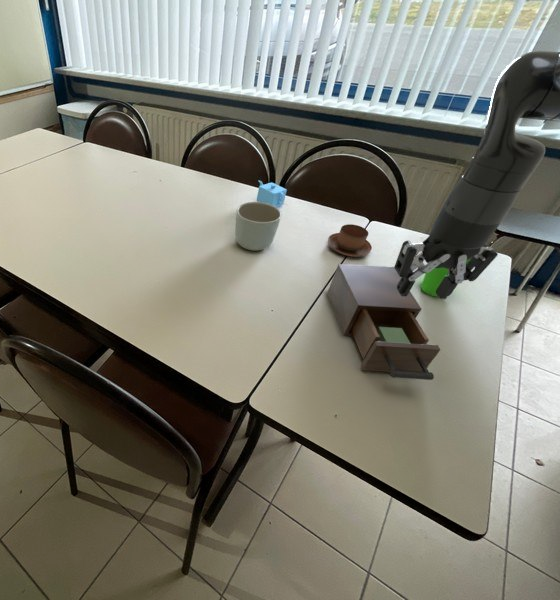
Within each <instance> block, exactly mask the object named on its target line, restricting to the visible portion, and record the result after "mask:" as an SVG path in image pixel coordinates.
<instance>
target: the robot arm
mask: <svg viewBox="0 0 560 600" xmlns="http://www.w3.org/2000/svg"><path fill="white" fill-rule="evenodd" d="M519 119H527V120H539V121H548V122H560V51H547V50H546V51H545V50H536V51H529V52H526V53H524V54H522V55H520V56H519V57H517V58H516V59H514V60H513V61H512V62H511V63H510V64H509V65H507V66H506V68H505V69H504V70H503V71H502V72H501V74H500V76H498V79H497V81H496V83H495V86H494V89H493V93H492V96H491V101H490V106H489V110H488V115H487V120H486V124H485V127H484V129H483V133H482V135H481V139H480V142H479V144H478V147H477V149H476V151H475V153H474V155H472V156H473V157H472V158H471V160H470V162H469V164H468V165H467V167H466V169H465V171H464V172H463V175H462V176H461V177H460V178H459V180H458V181H457V183H456V184H455V185H454V187H453V188H452V190H451V191H450V193H449V194H448V197H447V198H446V201H445V202H444V204H443V206H442V208H441V209H440V211H439V213H438V214H437V217H436V219H434V222H433V224H432V226H431V228H430V232H429V235H428V237H426V239H424V240H423V241H422V242H420V243H419V242H417V243H413V242H411V241H410V240H405V241H403V242H402V245H401V247H400V250H399V253H398V255H397V259H396V261H395V264H394V266H393V267H394V268H395V270H396V271H397V273H398V274H399V276H400V277H401V279H400V281H399V283H398V284H397V290H398V292H399V294H400V295H401V296H405V297H406V296H407V295H408V293H409V292H411V290H412V288H413V286H414V285H415V283H416V281H417V279H419V278H420V277H421V276H423V275H425V274H427V273H429V272H430V271H431V270H433V269H434V268H442V267H443V268H447V269H448V274H449V276H445V277H444V279H443V280H442V282H441V283H440V285H439V286H438V288H437V290H436V294H437V295H438V296H437V297H438V298H439V299H441V300H445V299H447V298H448V297H449V296H450V295H452V293H453V292H454V291H455V289H456V288H457V286H458V285H459V284H461V283H464V282H465V281H468V282H474V281H476V280H477V279H478V278H479V277H480V276H481V274H482V273H483V272H484V271H485V270H486V269H487V268H488V267H489V266H490V264H491V263H492V262H494V260H495V259H496V258H497V257H498V255H499V254H498V252H497V251H496V250H495V249H494V248H493V247H492V246H491V245H489V244H488V242H489V240H490V239H491V238H492V236H493V234H494V233H496V231H497V230H498V228H499V226H500V224H501V223H502V222H503V220H504V219H505V218H506V216H507V215H508V214H509V212H510V210H511V209H512V207H513V205H514V204H515V202H516V199H517V198H518V196H519V194H520V192H521V191H522V190H523V188H524V186H525V185H526V183H527V182H528V181H529V179H530V178H531V176H532V175H533V173H535V171H536V169H537V167H538V166H539V165H540V163H541V161H542V160H543V158H544V156H545V154H546V147H545V144H544V143H542V142H540V141H539V140H536V139H535V138H532V137H530V136H529V137H528V136H526V135H523V134H520V133H517V132H516V125H517V123H518V121H519ZM470 258H471V259H470ZM468 259H470V260H469V262H468V263H467V264H466V261H467V260H468ZM424 261H425V262H426V264H425V263H424Z"/></svg>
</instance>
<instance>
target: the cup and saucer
mask: <svg viewBox="0 0 560 600" xmlns="http://www.w3.org/2000/svg"><path fill="white" fill-rule="evenodd" d="M368 236H369V231H368V230H367V229H366V228H365V227H363V226H361V225H357V224H353V223H352V224H349V223H348V224H344V225H342V226H341V227H340V230H339V232H335V233H332V234H331V235H329V236H328V237H327V243H328V245H329V247H330V248H331V250H333V251H335V252H337V253H338V254H341V255H343V256H347V257H356V258H357V257H358V258H359V257H363V256H366V255H368V254H370V252H371V251H372V248H373V247H372V244H371V242H370V241H368V240H367V238H368Z"/></svg>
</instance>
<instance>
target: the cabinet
mask: <svg viewBox="0 0 560 600" xmlns="http://www.w3.org/2000/svg"><path fill="white" fill-rule="evenodd" d="M400 279H401V277H400V276H399V274H398V273H397V271H396V270H395V268H394V266H388V265H387V266H385V265H366V264H348V263H347V264H345V263H338V264H337V266H336V269H335V271H334V274H333V276H332V279H331V282H330V285H329V287H328V289H327V292H326V295H327V298H328V300H329V303H330V305H331V308H332V311H333V313H334V316H335V318H336V320H337V323H338V326H339V328H340V331H341V333H342V335H343V337H344V336H345V337H354V336H353V334H352V331H351V328H352V326H353V324H354V322H355V320H356V318H357V316H358V314H359V312H360V310H361V309H376V310H393V311H411V312H412V314H413V315H414V317H415V318H416V319H417V317H418V315H419V314H420V312H421V311H422V307H421V305H420V304H419V303H418V300H417V299H416V298H415V296H414V295H413V294H412V291H410V292H409V293H408V295H407V296H406V297H405V296H401V295H400V294H399V292H398V290H397V284H398V283H399V281H400Z"/></svg>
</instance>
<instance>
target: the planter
mask: <svg viewBox="0 0 560 600" xmlns="http://www.w3.org/2000/svg"><path fill="white" fill-rule="evenodd" d="M281 218H282V213H281V210H280V209H279V208H278V207H274V206H272V205H270V204H267V203H262V202H257V201H248V202H244V203H241V204H240V205H238V206H237V208H236V213H235V222H234V237H235V241H236V242H237V244H238V245H239V246H240V247H241V248H243V249H245V250H248V251H253V252H257V251H262V250H265V249H267V248H268V247H269V246H271V245H272V243H273V241H274V239H275V237H276V234H277V231H278V228H279V225H280V222H281Z"/></svg>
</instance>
